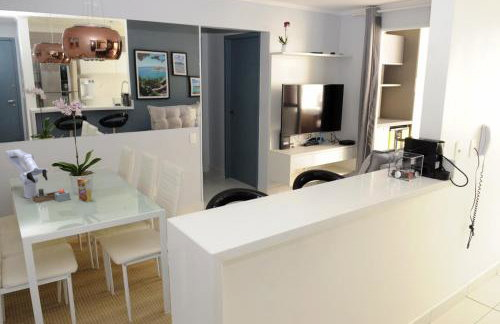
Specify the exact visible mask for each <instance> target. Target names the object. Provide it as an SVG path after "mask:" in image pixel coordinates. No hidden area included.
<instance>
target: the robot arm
mask: <svg viewBox="0 0 500 324" xmlns="http://www.w3.org/2000/svg"><path fill="white" fill-rule="evenodd" d="M4 155H5V157H6V158H5V159H6V160H7V161H8V162H9V163H11V164H12V165H13V167H14V168H15V169H16V170H17V171H18V173H19V174H20V175H19V180H20V183H21V185H23V195H22V196H23V197H24V198H25V199H33V196H36V195H38V194H39V193H38V190H37V184H38V182H39V176H38V175H40V174H41V175H42V177H43V178H44V180H45V181H48V176H47V175H48V174H47V173H48V171H49V170H48V168H41V167H40V168H39V166H38V165H37V163H36V161H35V158H34V155H33V153H27V152H25V151H22V149H21V148H18V149H11V150H8V149H7V150H6V151H5V154H4ZM26 167H27V168H26Z"/></svg>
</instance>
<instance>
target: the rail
mask: <svg viewBox="0 0 500 324" xmlns="http://www.w3.org/2000/svg"><path fill="white" fill-rule="evenodd" d="M57 192H59V190H57V191H52V192H45V194H47V195H48V196H46V197H41V198H37V197H36V196H33V197H32V201H34V202H35V203H36V204H39V203H43V202H49V201H55V196H54V193H57Z"/></svg>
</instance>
